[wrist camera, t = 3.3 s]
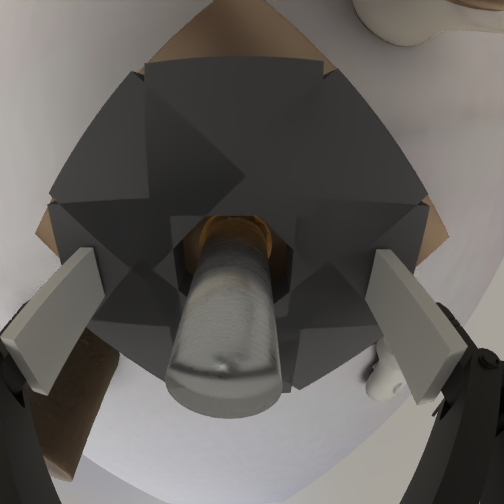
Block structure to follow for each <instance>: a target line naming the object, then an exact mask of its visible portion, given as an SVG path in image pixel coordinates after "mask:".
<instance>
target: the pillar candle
mask: <svg viewBox="0 0 504 504" xmlns="http://www.w3.org/2000/svg"><path fill="white" fill-rule="evenodd" d="M118 360H119V351H117V350H116V349H115V348H113V347H112V346H110V345H109V344H108V343H106V342H105V341H104V340H102V339H101V338H100V337H98V336H97V335H96V334H94V333H93V332H92V331H91V330H89V329H88V328H87V327H85V329H84V331H83V332H82V334H81V336H80V337H79V339H78V341H77V342H76V344H75V346H74V348H73V349H72V351H71V353H70V355H69V356H68V358H67V360H66V362H65V364H64V365H63V367H62V369H61V371H60V373H59V375H58V376H57V378H56V380H55V382H54V384H53V386H52V388H51V390H50V392H49V394H48V396H47V395H44V394H41V393H38V392H35V391H33V390H32V388H31V387H30V385H29V384H28V382H27V381H26V382H25V384H24V386H23V387H24V388H25V390H26V392H27V396H28V401H29V406H30V410H31V415H32V419H33V423H34V427H35V431H36V434H37V438H38V441H39V445H40V448H41V451H42V454H43V457H44V460H45V463H46V466H47V469H48V472H49V475H50V476H52V477H54V478H57V479H60V480H63V481H67V482H71V481H72V480H73V477H74V474H75V471H76V469H77V466H78V463H79V460H80V458H81V455H82V452H83V449H84V447H85V444H86V441H87V438H88V436H89V434H90V431H91V428H92V425H93V423H94V420H95V418H96V416H97V413H98V411H99V409H100V406H101V403H102V400H103V398H104V395H105V393H106V391H107V388H108V386H109V384H110V381H111V379H112V376H113V374H114V372H115V370H116V368H117V365H118Z"/></svg>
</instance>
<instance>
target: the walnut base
mask: <svg viewBox="0 0 504 504" xmlns="http://www.w3.org/2000/svg"><path fill="white" fill-rule="evenodd" d="M219 56H268V57H287V58H300V59H310V60H319V61H324V72H323V76H324V75H325V74H327V73H329V72H331V71H333V70H335V69H336V68H335V66H334V65H333V64H332V63H331V62H330V61H329V60H328V59H327V58H326V57H325V56H324V55H323V54H322V53H321V52H320V51H319V50H318V49H317V48H316V47H315V46H314V45H313V44H312V43H311V42H310V41H309V40H308V39H307V38H306V37H305V36H304V35H303V34H302V33H301V32H300V31H299V30H298V29H297V28H296V27H294V26H293V25H292V24H291V23H290V22H289V21H288V20H287V19H285V18H284V17H283V16H282V15H281V14H280V13H279V12H277V11H276V10H275V9H274V8H273V7H271V6H270V5H269V4H268V3H266V2H265V1H264V0H215V1H213V2H212V3H211V4H210V5H208V6H207V7H206V8H205V9H204V10H202V11H201V12H200V13H199V14H198V15H197V16H195V17H194V18H193V19H192V20H191V21H190V22H189V23H187V24H186V25H185V26H184V27H183V28H182V29H181V30H180V31H179V32H178V33H177V34H176V35H174V36H173V37H172V38H171V39H170V40H169V41H168V42H167V43H166V44H165V45H164V46H163V47H162V48H161V49H160V50H159V51H158V52H157V53H156V54H155V56H154V57H153V58H152V59H151V60H150V61H149V62H148V63H152V62H160V61H168V60H177V59H187V58H200V57H219ZM144 69H145V66H144V67H143V68H142V70H141V71H140V72H139V74H143V75H144ZM53 201H55V199H54V198H52V200H51V202H53ZM422 201H423V202H424V203H426V204H427V205H429V206H430V209H429V214H428V219H427V223H426V228H425V232H424V236H423V240H422V244H421V248H420V252H419V256H418V260H417V263H416V266H418V265H419V264H420V263H421V262H422V261H423V260H424V259H426V258H427V257H428V256H429V255H430V254H431V253H432V252H433V251H435V250H436V249H437V248H438V247H439V246H440V245H441V244H442V243H443V242H444V241H445V240H446V239H447V238H449V235H448V233H447V231H446V229H445V227H444V225H443V223H442V221H441V219H440V217H439V215H438V213H437V211H436V209H435V207H434V205H433V204H432V202H431V200H430V198H429V196H428V195H427V196H426V197H425V198H424V199H423V200H422ZM51 202H50V203H51ZM209 217H210V216H205V217H204V218H203V219H202V220H201V221H200V222H199V223H198V224H197V225H196V226H195V227H194V228H193V229H192V230H191V231H190V232H189V233H188V234H187V235H186V236H185V237H184V238H183V245H184V255H185V265H186V270H188V271H189V272H190V273H191V274H192V275H194V273H195V270H196V267H197V264H198V260H199V257H200V254H201V252H200V248H199V240H200V235H201V232H202V229H203V227H204V224H205V222H206V221H207V219H208V218H209ZM268 226H269V225H268ZM269 229H270V233H271V239H272V251H271V254H270V257H269V259H268V262H269V270H270V278H271V281H273V280H274V279H275V278H276V277H277V276H279V275H280V274H281V273H282V272H284V271H285V267H286V254H287V243H286V242H285V241H284V240H283V239H282V238H281V237H280V236H279V235H278V234H277V233H276V232H275V231H274V230H273V229H272V228H271V227H270V226H269ZM35 234H36V235H37V236H38V237H39V238H40V239H41V240H42V241H43V242H44V243H45V244H46V245H47V246H48V247H49V248H50V249H51V250H52V251H53V252H54V253H55V254H56V255H57V256H58V257H59V254H58V250H57V246H56V242H55V238H54V234H53V230H52V225H51V220H50V216H49V211H48V208H47V210H46V212H45V214H44V216H43V218H42V220H41V222H40V224H39V226H38V228H37V231H36V233H35ZM59 258H60V257H59Z"/></svg>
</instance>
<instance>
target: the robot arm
mask: <svg viewBox="0 0 504 504" xmlns="http://www.w3.org/2000/svg"><path fill="white" fill-rule="evenodd" d="M104 297H105V294H104V290H103V287H102V283H101V279H100V275H99V271H98V267H97V263H96V259H95V255H94V250H93V248H85V247H80V248H79V249H78V250H77V251H76V252H75V253H74V254H73V255H72V256H71V257H70V258H69V259H68V260H67V261H66V262H65V263H64V264H63V265H62V266H61V267H60V268H59V269H58V270H57V271H56V272H55V273H54V274H53V275H52V277H51V278H50V279H49V280H48V281H47V282H46V283H45V284H44V285H43V286H42V287H41V288H40V290H39V291H38V292H37V293H36V294H35V295H34V296H33V297H32V298H31V299H30V300H29V301H28V302H26V303H25V304H23V305H22V307H21V308H20V309H19V310H18V311H17V314H15V315H14V316H13V317H12V320H10V321H9V322H8V323H7V325H6V326H5V327H4V328H3V330H2V331H1V332H0V504H61V501H60V499H59V497H58V495H57V492H56V490H55V487H54V485H53V483H52V480H51V477H50V475H49V472H48V469H47V466H46V463H45V460H44V457H43V454H42V451H41V448H40V445H39V441H38V438H37V434H36V431H35V427H34V423H33V419H32V415H31V410H30V406H29V401H28V396H27V392H26V390H25V388H24V387H23V386H24V384H25V382H26V381H27V382H28V384H29V385H30V387H31V388H32V390H33V391H35V392H38V393H41V394H44V395H47V396H48V394H49V392H50V390H51V388H52V386H53V384H54V382H55V380H56V378H57V376H58V375H59V373H60V371H61V369H62V367H63V365H64V364H65V362H66V360H67V358H68V356H69V355H70V353H71V351H72V349H73V348H74V346H75V344H76V342H77V341H78V339H79V337H80V336H81V334H82V332H83V331H84V329H85V327H86V326H87V324H88V322H89V321H90V319H91V318H92V316H93V314H94V313H95V311H96V310H97V308H98V307H99V305H100V303H101V302H102V300H103V299H104ZM365 300H366V302H367V304H368V306H369V308H370V310H371V311H372V313H373V315H374V317H375V319H376V321H377V323H378V325H379V327H380V329H381V331H382V333H383V335H384V337H385V339H386V340H387V342H388V344H389V347H390V349H391V351H392V353H393V355H394V357H395V359H396V361H397V363H398V365H399V367H400V369H401V371H402V373H403V376H404V378H405V380H406V382H407V384H408V386H409V389H410V391H411V393H412V395H413V398H414V400H415V402H416V404H417V405H421V404H425V403H428V402H432V401H434V400H435V398H436V397H437V395H438V394H439V393H440V391H442V393H443V395H444V399H443V400H442V402H441V403H440V404H439V406H438V407H437V408H436V410H435V411H434V413H433V414H432V416H435V414H436V413H437V412H438V414H437V417H436V420H435V423H434V426H433V429H432V431H431V434H430V437H429V440H428V442H427V445H426V448H425V450H424V453H423V455H422V457H421V460H420V462H419V465H418V467H417V469H416V472H415V473H414V476H413V478H412V480H411V482H410V484H409V486H408V488H407V490H406V492H405V494H404V496H403V498H402V500H401V502H400V504H479V502H480V504H504V361H500V359H499V358H498V356H497V355H496V354H495V353H494V352H492V351H490V350H488V349H484V348H479V349H478V348H477V346H476V345H475V344H474V342H473V341H472V340H471V339H470V337H469V335H468V334H467V333H466V331H465V330H464V329H463V327H462V326H460V323H459V322H458V321H457V320H456V319H455V317H454V316H453V314H452V313H451V312H450V311H449V309H447V308H446V307H445V306H443V305H442V304H440V303H439V302H437V303H435V302H434V300H433V299H432V298H431V297H430V295H429V294H428V293H427V292H426V290H425V289H424V288H423V287H422V285H421V284H420V283H419V282H418V281H417V279H416V278H415V277H414V276H413V275H412V273H411V272H410V271H409V270H408V269H407V268H406V266H405V265H404V264H403V263H402V262H401V261H400V260H399V258H398V257H397V256H396V255H395V254H394V253H393V252H392V251H391V250H389V249H376V254H375V258H374V263H373V267H372V272H371V276H370V280H369V285H368V289H367V293H366V297H365Z"/></svg>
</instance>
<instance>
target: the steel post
mask: <svg viewBox="0 0 504 504" xmlns="http://www.w3.org/2000/svg"><path fill="white" fill-rule="evenodd" d="M199 248H200V252H201V254H200V257H199V260H198V264H197V267H196V270H195V273H194V276H193V280H192V283H191V286H190V290H189V293H188V296H187V300H186V303H185V307H184V310H183V314H182V317H181V320H180V324H179V328H178V331H177V335H176V338H175V342H174V346H173V349H172V353H171V357H170V360H169V364H168V368H167V372H166V376H165V383H166V387H167V389H168V391H169V393H170V394H171V396H172V397H173V398H174V399H175V400H176V401H177V402H178V403H180V404H181V405H182V406H184V407H186V408H187V409H189V410H192V411H194V412H196V413H199V414H202V415H205V416H210V417H215V418H226V419H233V418H243V417H248V416H253V415H256V414H258V413H261V412H263V411H265V410H267V409H268V408H270V407H271V406H273V405H274V404H275V403H276V402H277V400H278V399H279V397H280V395H281V393H282V376H281V367H280V358H279V348H278V339H277V330H276V322H275V313H274V304H273V295H272V287H271V278H270V270H269V262H268V259H269V257H270V254H271V251H272V239H271V233H270V229H269V226H268V224H267V223H266V222H265V221H264V220H263V219H262V218H261V217H260V216H210V217H209V218H208V219H207V221H206V222H205V224H204V227H203V229H202V232H201V235H200V240H199Z"/></svg>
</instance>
